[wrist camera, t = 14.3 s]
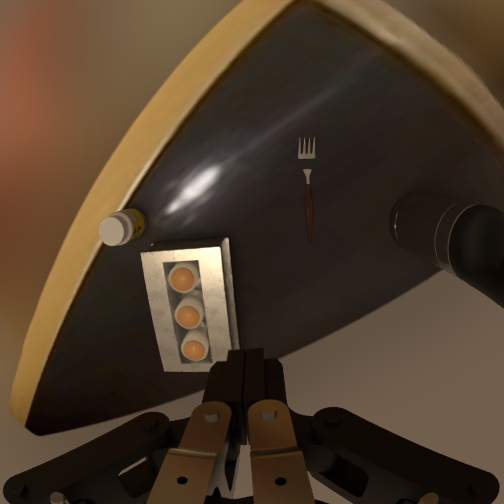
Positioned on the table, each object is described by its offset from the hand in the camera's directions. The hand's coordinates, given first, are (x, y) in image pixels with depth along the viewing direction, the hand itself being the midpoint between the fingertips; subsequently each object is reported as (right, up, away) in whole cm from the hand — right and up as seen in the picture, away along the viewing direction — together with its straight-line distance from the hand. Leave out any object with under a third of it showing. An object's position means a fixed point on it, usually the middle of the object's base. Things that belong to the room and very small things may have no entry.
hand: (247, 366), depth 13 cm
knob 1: (-9, +3, +34) cm, 35 cm away
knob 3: (-8, -8, +36) cm, 38 cm away
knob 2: (-9, -3, +35) cm, 36 cm away
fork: (+9, +14, +33) cm, 37 cm away
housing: (-9, -2, +37) cm, 38 cm away
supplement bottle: (-19, +10, +34) cm, 40 cm away
